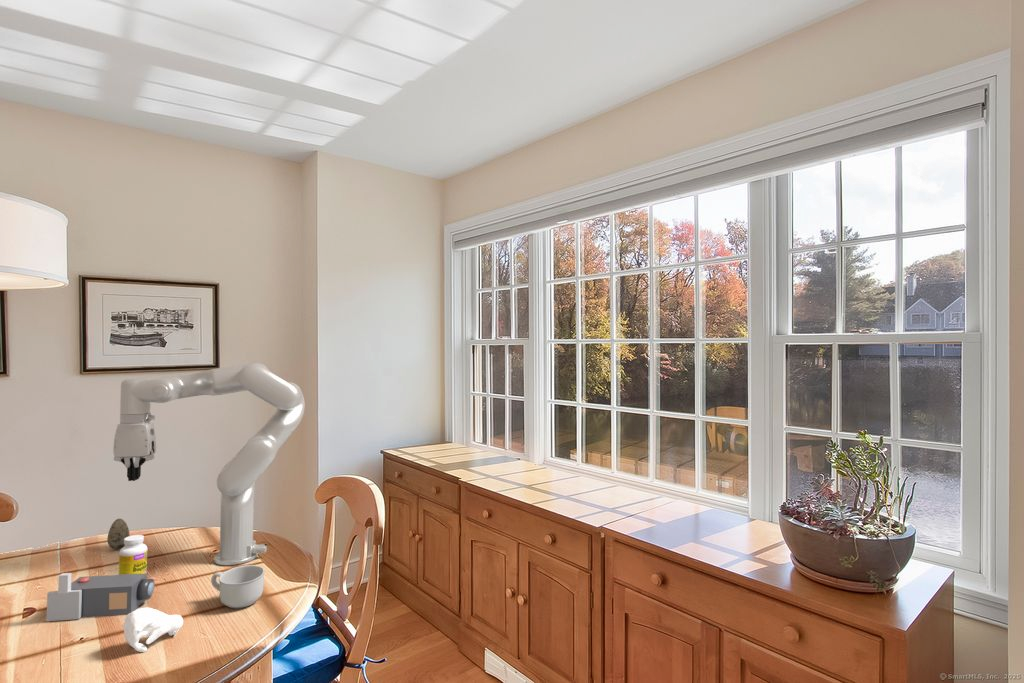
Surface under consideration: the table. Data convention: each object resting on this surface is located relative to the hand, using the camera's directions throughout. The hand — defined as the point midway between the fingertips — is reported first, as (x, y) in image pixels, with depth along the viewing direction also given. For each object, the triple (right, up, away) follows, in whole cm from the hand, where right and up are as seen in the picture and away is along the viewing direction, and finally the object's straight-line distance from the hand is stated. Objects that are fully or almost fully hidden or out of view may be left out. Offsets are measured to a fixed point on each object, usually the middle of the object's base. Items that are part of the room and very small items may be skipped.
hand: (133, 479), depth 164 cm
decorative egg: (-16, -27, +16) cm, 36 cm away
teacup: (+42, -28, -21) cm, 54 cm away
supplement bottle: (+6, -27, -9) cm, 30 cm away
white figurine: (+33, -27, -40) cm, 59 cm away
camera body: (+11, -27, -25) cm, 38 cm away
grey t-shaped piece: (+4, -26, -31) cm, 41 cm away
